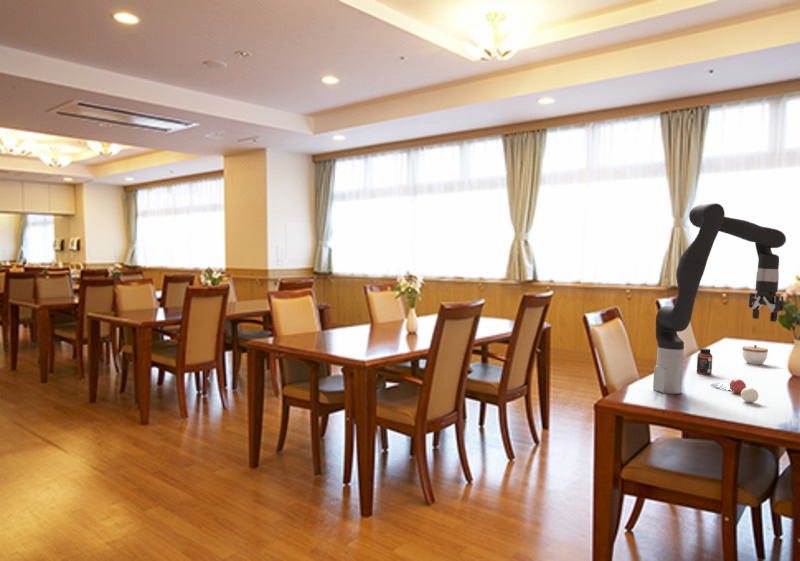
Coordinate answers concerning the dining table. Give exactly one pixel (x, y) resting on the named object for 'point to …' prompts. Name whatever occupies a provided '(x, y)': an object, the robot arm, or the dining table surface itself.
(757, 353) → the lidded jar
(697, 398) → the dining table surface
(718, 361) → the dining table surface
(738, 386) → the red ball
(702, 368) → the supplement bottle
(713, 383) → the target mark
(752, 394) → the cue ball
